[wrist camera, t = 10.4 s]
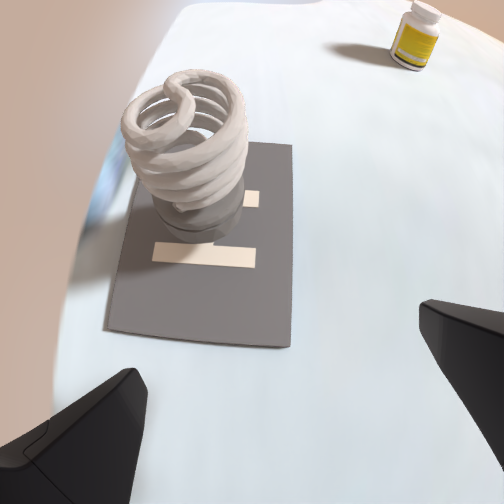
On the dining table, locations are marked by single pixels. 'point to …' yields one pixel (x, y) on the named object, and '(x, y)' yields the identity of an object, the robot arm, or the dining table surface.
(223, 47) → the dining table surface
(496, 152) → the dining table surface
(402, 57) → the supplement bottle
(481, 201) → the dining table surface
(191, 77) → the light bulb
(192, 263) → the board
